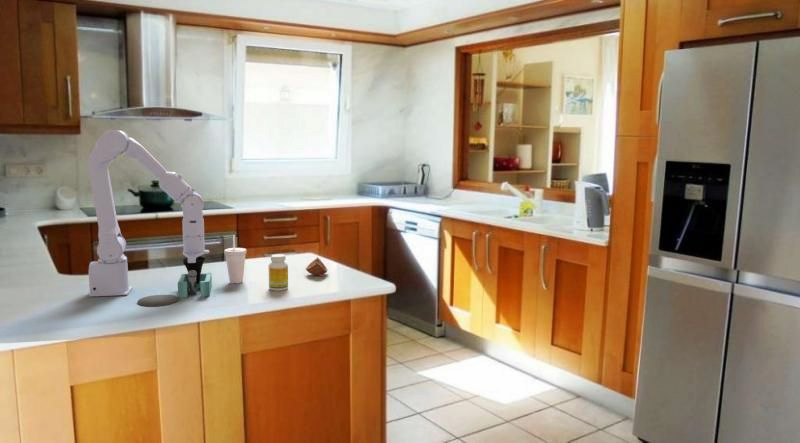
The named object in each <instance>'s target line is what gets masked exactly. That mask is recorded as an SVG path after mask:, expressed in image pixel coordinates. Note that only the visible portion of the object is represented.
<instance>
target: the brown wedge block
mask: <svg viewBox="0 0 800 443" xmlns="http://www.w3.org/2000/svg"><path fill="white" fill-rule="evenodd" d="M305 270H306V272H307V273H309V274H311V275H314V276H322V275H325V274H326V273H327V272H328V268H327V266H326V265H325V264H324V262H322V260H321V258H319V257H316V258H314V259H313V260H312V261H311V262H310V263H309V264H308V265H307V266H306V267H305Z"/></svg>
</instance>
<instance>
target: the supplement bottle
mask: <svg viewBox="0 0 800 443" xmlns="http://www.w3.org/2000/svg"><path fill="white" fill-rule="evenodd" d="M270 261H271V262H269V264H268V289H269V290H271V291H275V292H276V291H277V292H278V291H279V292H280V291H285V290H287V289H288V288H289V264H288V263H287V262H286V255H285V254H283V253H280V254H279V253H278V254H272V255H270Z"/></svg>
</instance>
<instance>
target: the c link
mask: <svg viewBox="0 0 800 443" xmlns="http://www.w3.org/2000/svg"><path fill="white" fill-rule="evenodd" d="M212 275H213V274H212V272H201V273H200V281H199V284H196V285H197V289H200V297H202V298H203V297H205V296H208V297H210V296H211V292H212V288H213V283H212ZM188 290H189V278H188V273H182V274H181V275H180V278H179V279H178V282H177V295H178V296H177V297H178V298H180V299H183V298H186V299H187V298H188Z"/></svg>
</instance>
